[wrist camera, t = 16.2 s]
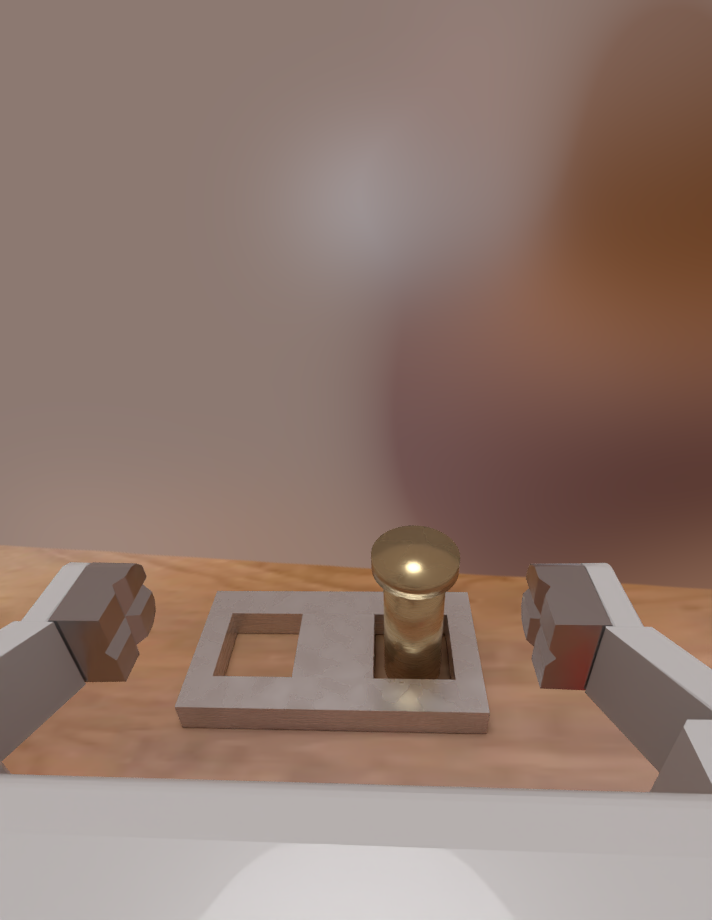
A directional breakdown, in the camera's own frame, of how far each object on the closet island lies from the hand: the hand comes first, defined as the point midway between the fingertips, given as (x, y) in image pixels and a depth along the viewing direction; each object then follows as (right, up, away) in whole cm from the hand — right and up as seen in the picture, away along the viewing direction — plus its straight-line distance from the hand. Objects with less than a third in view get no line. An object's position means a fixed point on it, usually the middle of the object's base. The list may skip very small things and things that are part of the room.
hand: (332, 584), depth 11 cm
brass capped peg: (+5, -14, +30) cm, 34 cm away
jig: (-1, -14, +31) cm, 34 cm away
